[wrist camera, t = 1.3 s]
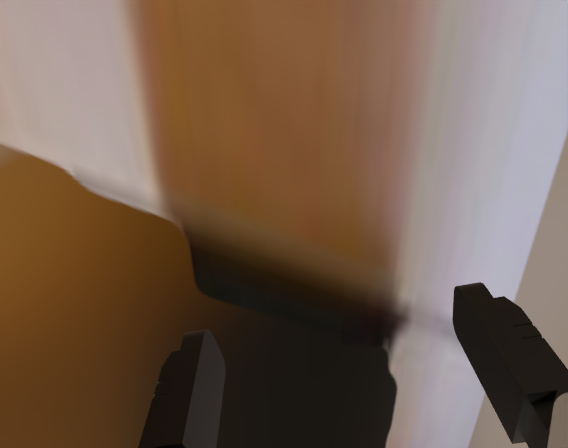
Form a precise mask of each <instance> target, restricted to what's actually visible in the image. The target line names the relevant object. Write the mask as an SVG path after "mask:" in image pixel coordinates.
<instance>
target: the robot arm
mask: <svg viewBox="0 0 568 448" xmlns="http://www.w3.org/2000/svg"><path fill="white" fill-rule="evenodd" d="M453 326H454V330H455V333H456V336H457V338H458V340H459V342H460V344H461V346H462V348H463V350H464V352H465V354H466V355H467V357H468V359H469V361H470V363H471V365H472V367H473V369H474V371H475V373H476V375H477V377H478V379H479V381H480V383H481V384H482V386H483V388H484V390H485V392H486V394H487V396H488V398H489V400H490V402H491V404H492V405H493V408H494V409H495V412H496V413H497V415H498V417H499V419H500V421H501V423H502V425H503V427H504V429H505V431H506V432H507V435H508V436H509V439H510V441H511V442H512V444H513V443H522V442H526V443H527V445H528V447H529V448H568V369H567V368H566V367H565V365H564V364H563V363H562V361H561V360H560V359H559V357H558V356H557V355H556V353H555V352H554V351H553V350H552V348H551V347H550V346H549V344H548V343H547V342H546V340H545V339H544V338H542V336H541V334H540V332H539V331H538V330H537V328H536V327H535V326H533V325H532V322H531V321H530V319H529V318H528V317H527V315H526V314H525V313H524V311H523V310H522V309H521V308H520V307H519V306H517V305H516V304H514V303H513V302H512V301H510V300H509V299H507V298H506V297H504V296H503V297H497V298H493V296H492V295H491V294H490V292H489V291H488V289H487V288H486V287H485V285H484V284H483V283H481V282H480V283H473V284H468V285H462V286H456V287H455V289H454V302H453ZM224 380H225V363H224V359H223V356H222V354H221V352H220V350H219V348H218V346H217V344H216V342H215V339H214V337H213V335H212V333H211V332H210V330H208V329H206V330H200V331H194V332H188V333H186V334H185V335H184V337H183V341H182V345H181V349H180V351H174V352H172V353H171V354H170V355H169V357H168V358H167V360H166V362H165V363H164V364H163V366H162V368H161V372H160V375H159V379H158V385H157V386H156V389H155V392H154V398H153V399H152V402H151V406H150V410H149V413H148V417H147V419H146V423H145V426H144V430H143V433H142V437H141V440H140V443H139V447H138V448H216V444H217V436H218V428H219V420H220V412H221V404H222V396H223V388H224Z"/></svg>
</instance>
